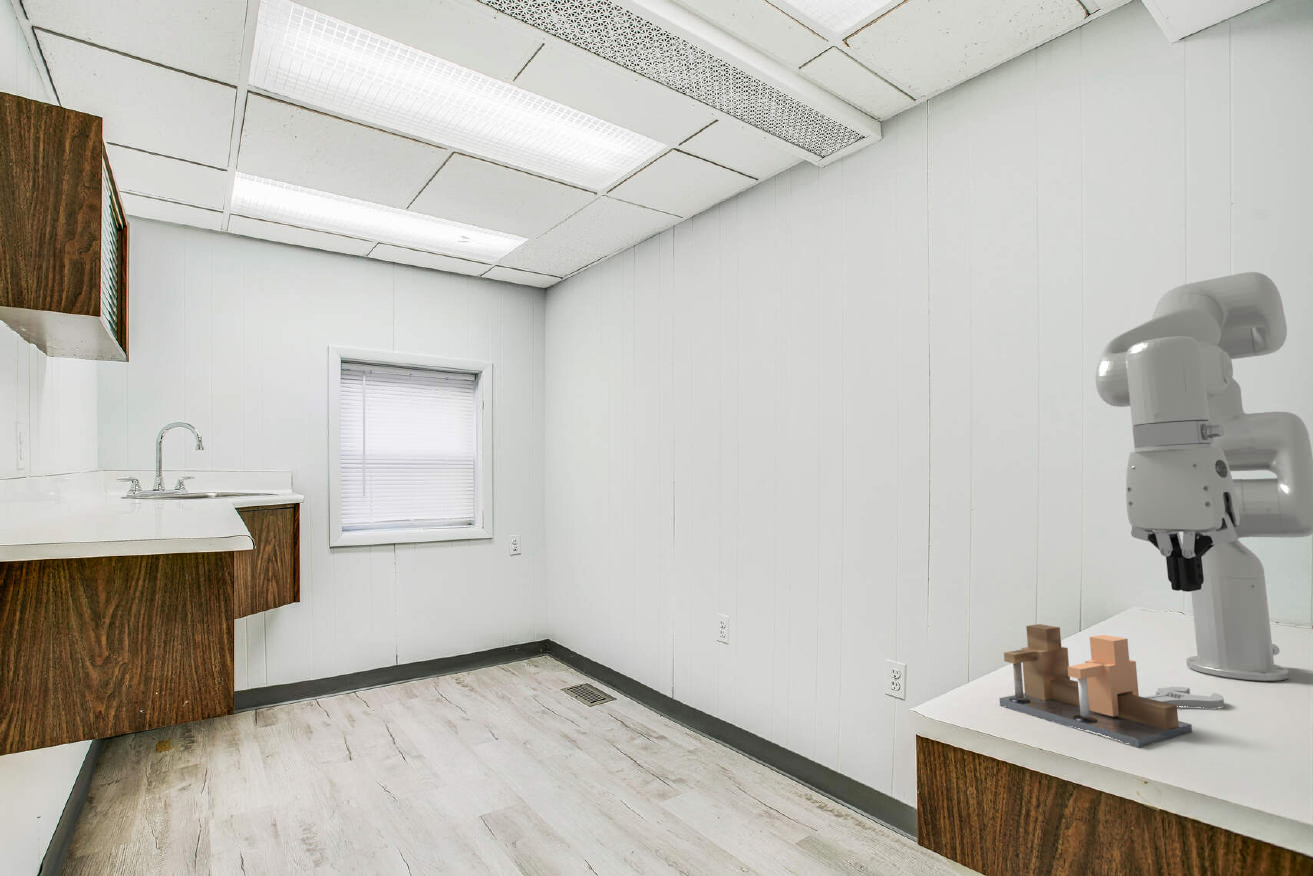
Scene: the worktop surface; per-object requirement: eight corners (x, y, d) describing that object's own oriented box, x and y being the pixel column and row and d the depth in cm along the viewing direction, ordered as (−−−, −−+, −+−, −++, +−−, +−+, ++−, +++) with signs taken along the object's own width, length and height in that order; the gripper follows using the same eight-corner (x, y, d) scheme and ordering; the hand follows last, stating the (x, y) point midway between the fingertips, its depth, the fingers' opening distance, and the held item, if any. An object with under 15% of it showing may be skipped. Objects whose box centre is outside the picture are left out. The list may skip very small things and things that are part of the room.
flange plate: (1051, 695, 96) (1050, 687, 96) (1192, 732, 80) (1191, 723, 80) (999, 705, 92) (999, 697, 92) (1138, 747, 75) (1137, 738, 76)
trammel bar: (1049, 688, 96) (1044, 623, 97) (1186, 724, 80) (1178, 645, 81) (1001, 698, 92) (996, 629, 93) (1135, 738, 76) (1128, 654, 77)
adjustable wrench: (1076, 726, 85) (1075, 713, 85) (1039, 710, 91) (1038, 697, 91) (1234, 710, 89) (1233, 697, 90) (1188, 696, 96) (1187, 683, 96)
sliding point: (1115, 703, 87) (1109, 633, 88) (1139, 710, 85) (1133, 637, 86) (1066, 715, 83) (1060, 641, 84) (1089, 722, 80) (1083, 645, 81)
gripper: (1263, 433, 75) (1282, 594, 73) (1125, 443, 88) (1138, 580, 87) (1228, 433, 72) (1246, 602, 70) (1090, 443, 85) (1103, 585, 84)
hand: (1186, 589), depth 79 cm, fingers closed
